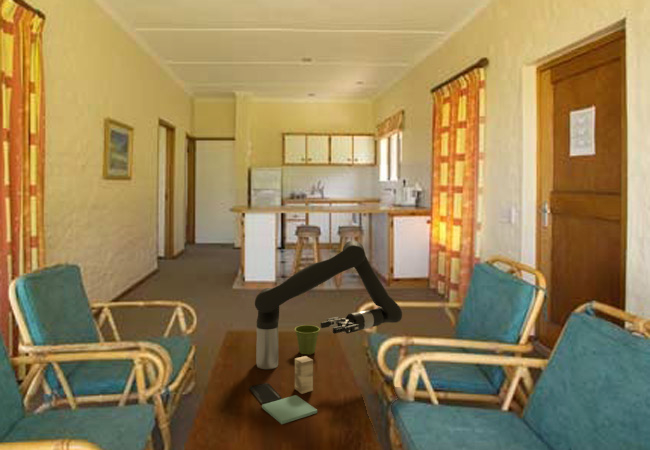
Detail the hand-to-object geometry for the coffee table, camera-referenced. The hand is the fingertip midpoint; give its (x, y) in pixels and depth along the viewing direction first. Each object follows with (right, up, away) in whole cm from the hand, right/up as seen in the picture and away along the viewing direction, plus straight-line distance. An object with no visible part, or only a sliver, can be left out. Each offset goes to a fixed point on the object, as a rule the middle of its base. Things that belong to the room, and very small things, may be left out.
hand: (327, 328), depth 184 cm
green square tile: (-13, -24, -20) cm, 34 cm away
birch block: (-9, -23, -4) cm, 25 cm away
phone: (-23, -23, -8) cm, 34 cm away
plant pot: (-9, -19, +36) cm, 42 cm away
